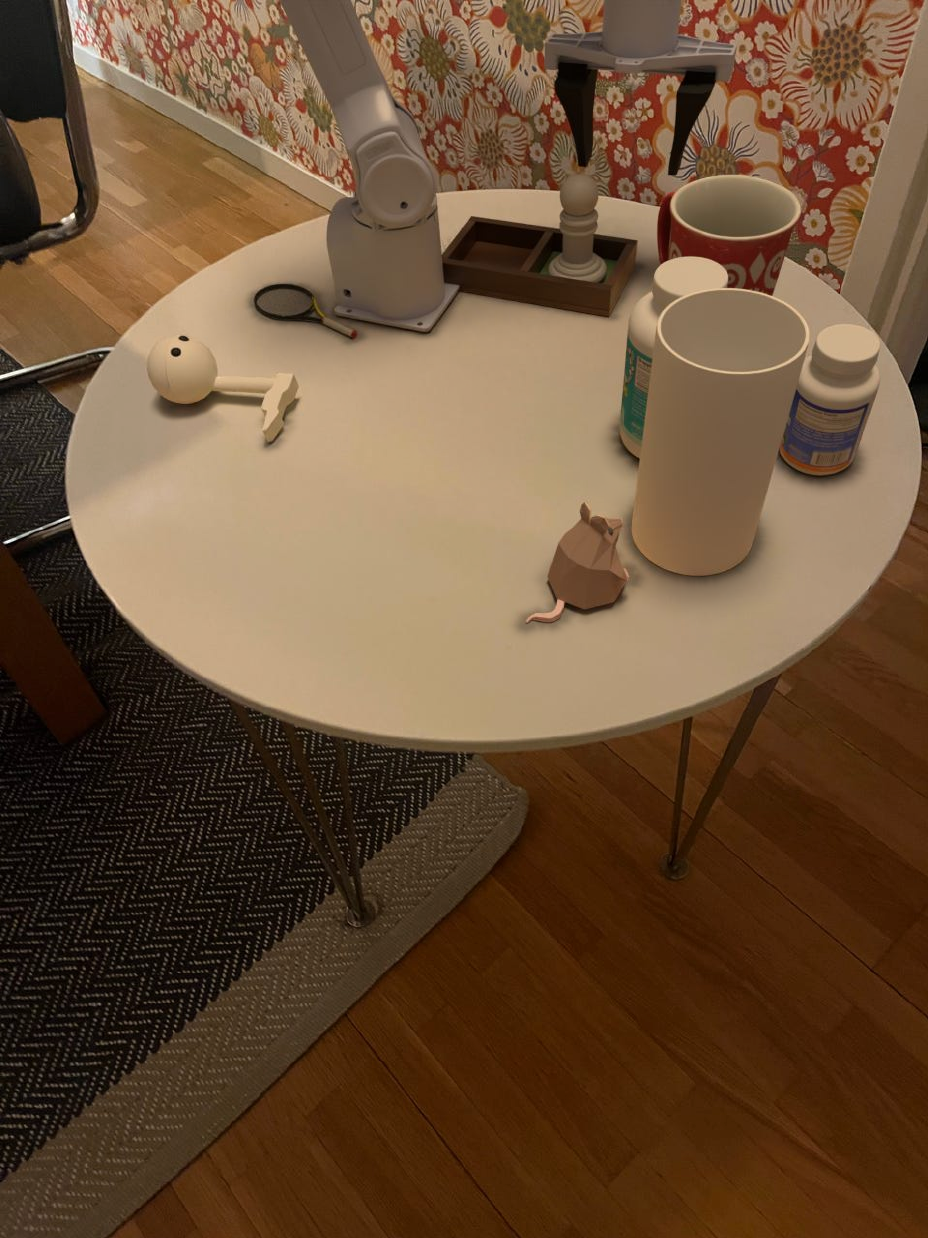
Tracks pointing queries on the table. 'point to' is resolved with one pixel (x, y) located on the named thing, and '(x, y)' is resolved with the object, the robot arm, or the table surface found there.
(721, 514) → the cup
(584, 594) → the mouse figurine
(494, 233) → the tray
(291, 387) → the figurine
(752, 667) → the table surface
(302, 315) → the tennis racket
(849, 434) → the pill bottle
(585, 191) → the chess piece
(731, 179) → the mug
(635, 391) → the pill bottle
